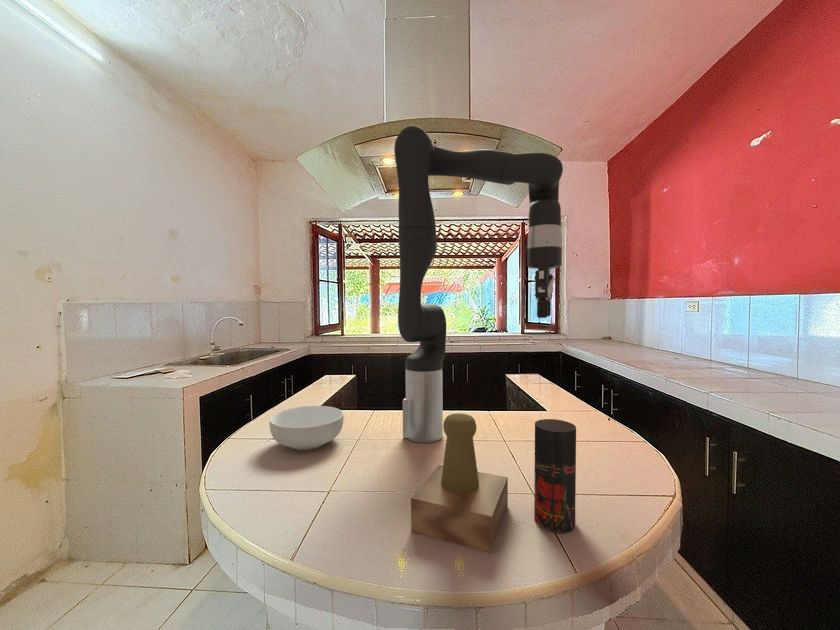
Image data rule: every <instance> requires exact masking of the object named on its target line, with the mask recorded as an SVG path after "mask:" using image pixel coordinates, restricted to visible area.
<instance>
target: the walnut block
mask: <svg viewBox="0 0 840 630" xmlns="http://www.w3.org/2000/svg"><path fill="white" fill-rule="evenodd" d="M442 471H443V464H439V465H438V466H437V467H436V468H435V469H434V470H433V472H431V474H430V475H429V476H428V478H427V479H426V480H425V481H424V482H423V483H422V484H421V486H420V487H419V488H418V489H417V490H416V491H415V492H414V493H413V495H412V496H411V498H410V531H411V532H412V533H416V534H420V535H424V536H428V537H432V538H436V539H440V540H443V541H447V542H450V543H454V544H458V545H462V546H466V547H470V548H473V549H475V550H480V551H484V552H488V553H493V550H494V547H495V544H496V542H497V539H498V536H499V533H500V530H501V527H502V525H503V521H504V518H505V516H506V513H507V510H508V506H509V498H508V494H509V493H508V492H509V490H508V489H509V483H508V480H509V477H507V476H504V475H497V474H492V473H488V472H487V473H486V472H482V471H481V472H480V471H477V472H478V480H479V487H478V489H477V490H476V491H473V492H471V493H466V494H458V493H452V492H450V491H447V490H445V489H444V488H443V487H442V486H441V479H442Z"/></svg>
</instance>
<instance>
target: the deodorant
mask: <svg viewBox="0 0 840 630" xmlns="http://www.w3.org/2000/svg"><path fill="white" fill-rule="evenodd" d="M576 480H577V427H576V425H575V424H574V423H572V422H568V421H566V420H562V419H557V418H556V419H555V418H544V419H538V420H536V421H534V498H533V499H534V505H533V508H534V519H533V520H534V522H535V524H536V525H537V526H538V527H539V528H542V529H543V530H545V531H547V532H550V533H554V534H568V533H571V532H573V531H574V530H575V529H576V503H577V502H576V495H577V494H576V491H577V490H576V487H577V486H576V485H577V483H576Z"/></svg>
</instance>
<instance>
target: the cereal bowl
mask: <svg viewBox="0 0 840 630" xmlns="http://www.w3.org/2000/svg"><path fill="white" fill-rule="evenodd" d="M344 414H345V413H344V412H343V411H342V410H341V409H339V408H336V407H333V406H325V405H305V406H297V407H291V408H288V409H283V410H281V411H278V412H276V413H275V414H272V416H271V417H270V418H269V431H270V434H271V437H272V438H273V440H275V441H276V442H277V443H278V444H280V445H282V446H285V447H287V448H288V447H289V448H291V449H293V450H298V451H309V450H314V449H317V448H318V449H319V448H320V447H322V446H324V445H325V444H327V443H329V442H331V441H333V440H334V439H336V437H338V436H339V434H340V433H341V431H342V428H343V425H344V419H345V417H344Z"/></svg>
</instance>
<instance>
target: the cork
mask: <svg viewBox="0 0 840 630" xmlns="http://www.w3.org/2000/svg"><path fill="white" fill-rule="evenodd" d="M443 432H444V434H445V435H446V441H445V449H444V458H443V464H442V465H443V471H442V479H441V486H442V487H443V488H444V489H445V490H447V491H450V492H452V493H458V494H466V493H471V492H473V491H476V490H477V489H478V487H479V480H478V472H479V471H478V466H477V459H476V458H477V457H476V452H475V451H476V450H475V443H474V436H475V435H476V432H477V422H476V419H475V418H474V417H473V416H472V415H470V414H467V413H451V414H448V415H447V416H446V417H445V419H443Z"/></svg>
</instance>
